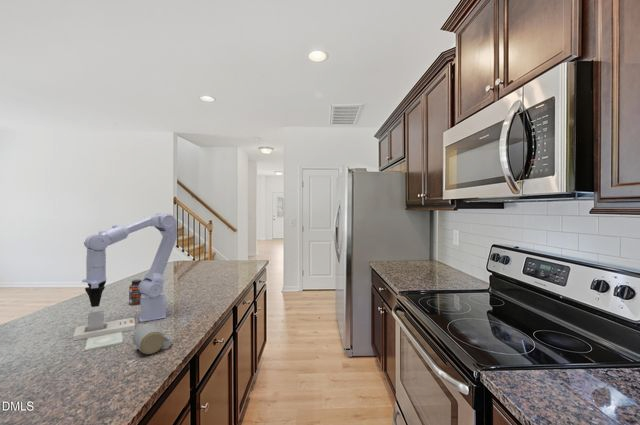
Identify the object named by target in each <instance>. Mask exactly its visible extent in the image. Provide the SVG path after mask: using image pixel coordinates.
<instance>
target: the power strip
mask: <svg viewBox="0 0 640 425" xmlns="http://www.w3.org/2000/svg"><path fill="white" fill-rule="evenodd" d="M129 331H136V323H135V317H129V318H123V319H116V320H111V321H104V329H101V330H95V331H89V332H88V324H84V325H80V326H76V327H75V330H74V334H73V335H72V336H73V337H72V338H73V341H79V340H84V339H88V338H92V337H98V336H103V335H109V334H114V333H120V332H122V333H123V332H129Z"/></svg>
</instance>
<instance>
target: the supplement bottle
mask: <svg viewBox="0 0 640 425" xmlns="http://www.w3.org/2000/svg"><path fill="white" fill-rule="evenodd" d="M141 281H142V279H140V278H139V279H138V278H137V279H132V280H131V284H130V285H129V286H128V287H129V291H128V292H129V293H128V304H129V305H130V306H137V304H138V305H141V293H140V292H139V290H138V286H139V284H140V282H141Z"/></svg>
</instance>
